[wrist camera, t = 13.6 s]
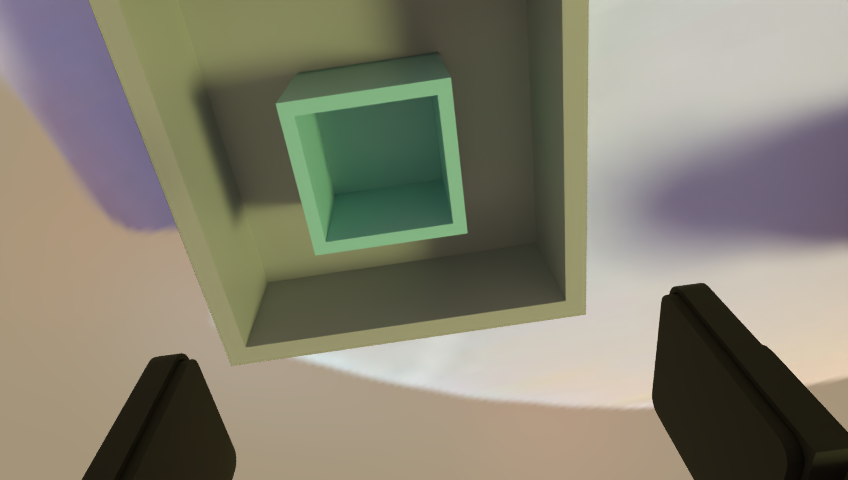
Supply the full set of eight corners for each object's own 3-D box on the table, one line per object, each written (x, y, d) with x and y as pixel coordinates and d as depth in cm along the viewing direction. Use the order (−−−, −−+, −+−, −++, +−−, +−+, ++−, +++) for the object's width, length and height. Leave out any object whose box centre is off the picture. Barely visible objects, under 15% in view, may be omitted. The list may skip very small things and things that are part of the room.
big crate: (152, -34, 25) (77, -28, 19) (539, -93, 25) (589, -106, 19) (259, 289, 34) (231, 366, 28) (549, 247, 34) (585, 314, 28)
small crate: (297, 72, 27) (275, 103, 22) (438, 52, 27) (451, 77, 22) (327, 201, 30) (315, 255, 25) (453, 183, 30) (467, 233, 25)
